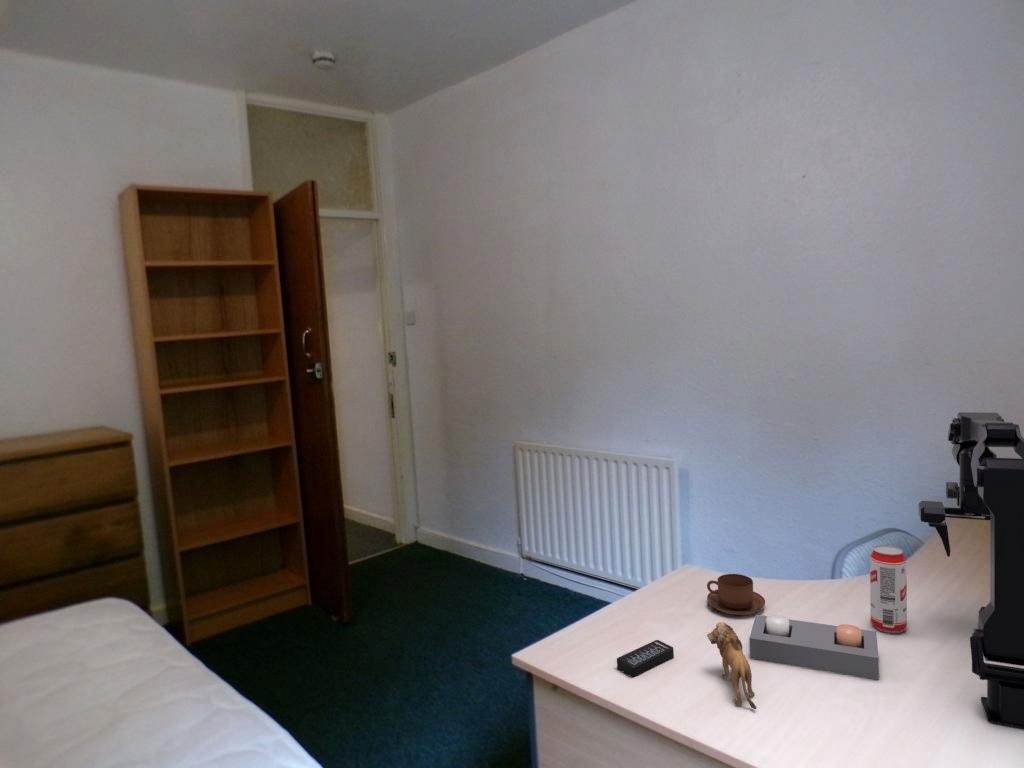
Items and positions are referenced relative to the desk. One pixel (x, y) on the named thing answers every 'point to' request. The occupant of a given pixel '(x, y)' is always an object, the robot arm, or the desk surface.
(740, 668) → the lion figurine
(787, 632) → the grey piece
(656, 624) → the desk surface
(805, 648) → the plug block
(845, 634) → the terracotta plug
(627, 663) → the multiport hub
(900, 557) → the beer can
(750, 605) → the cup and saucer
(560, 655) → the desk surface
